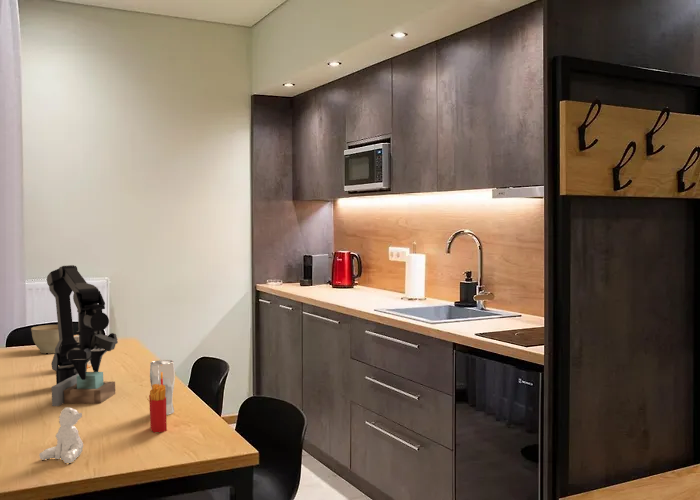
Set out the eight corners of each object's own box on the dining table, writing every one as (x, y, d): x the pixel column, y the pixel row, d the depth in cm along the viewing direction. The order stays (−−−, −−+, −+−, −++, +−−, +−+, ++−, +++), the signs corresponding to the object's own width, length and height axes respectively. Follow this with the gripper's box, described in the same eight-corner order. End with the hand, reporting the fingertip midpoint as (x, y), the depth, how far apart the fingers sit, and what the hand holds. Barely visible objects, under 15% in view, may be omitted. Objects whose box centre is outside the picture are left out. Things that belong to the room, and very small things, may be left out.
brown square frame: (64, 403, 218) (63, 390, 218) (80, 393, 230) (80, 381, 230) (100, 403, 218) (100, 390, 218) (115, 393, 229) (115, 381, 229)
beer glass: (180, 410, 208) (178, 360, 208) (166, 417, 202) (165, 365, 201) (160, 408, 211) (158, 359, 210) (146, 415, 204) (144, 363, 203)
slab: (52, 406, 215) (51, 386, 215) (78, 391, 233) (77, 373, 233) (58, 406, 215) (57, 386, 215) (84, 391, 233) (83, 373, 233)
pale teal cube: (77, 401, 221) (76, 376, 221) (85, 396, 227) (84, 371, 227) (95, 401, 221) (95, 376, 220) (103, 396, 227) (103, 371, 226)
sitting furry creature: (37, 461, 167) (35, 410, 166) (64, 449, 175) (62, 401, 174) (69, 465, 163) (67, 414, 163) (94, 453, 171) (93, 404, 171)
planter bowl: (63, 355, 297) (62, 329, 296) (25, 355, 297) (24, 330, 296) (78, 348, 313) (77, 323, 312) (42, 348, 313) (41, 324, 312)
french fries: (149, 426, 193) (147, 382, 193) (163, 424, 195) (162, 381, 194) (153, 434, 185) (152, 389, 185) (168, 432, 187) (167, 388, 186)
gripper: (100, 332, 213) (102, 383, 214) (124, 322, 232) (125, 369, 232) (65, 332, 214) (66, 383, 214) (91, 323, 232) (93, 369, 233)
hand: (89, 376), depth 223 cm, fingers open, 9 cm apart
